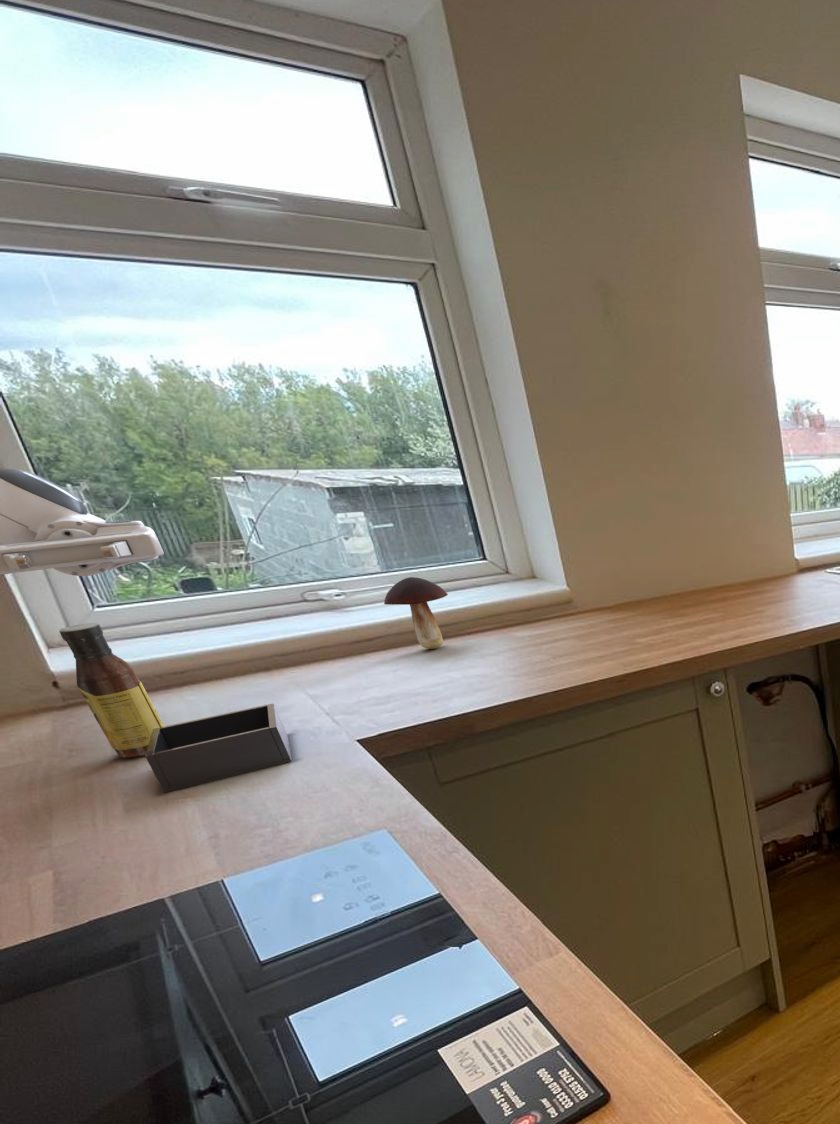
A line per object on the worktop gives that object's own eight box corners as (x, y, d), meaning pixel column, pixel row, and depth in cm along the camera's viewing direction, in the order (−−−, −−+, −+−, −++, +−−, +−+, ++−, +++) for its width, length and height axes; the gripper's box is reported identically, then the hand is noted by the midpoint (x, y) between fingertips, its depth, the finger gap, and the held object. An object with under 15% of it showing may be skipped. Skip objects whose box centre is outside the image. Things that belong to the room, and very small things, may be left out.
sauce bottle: (134, 746, 126) (69, 622, 118) (183, 740, 127) (122, 617, 119) (105, 763, 120) (35, 634, 112) (157, 756, 121) (91, 628, 113)
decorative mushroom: (475, 642, 172) (452, 572, 166) (425, 658, 163) (399, 585, 157) (439, 639, 176) (416, 570, 170) (389, 654, 167) (362, 582, 160)
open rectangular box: (164, 793, 109) (145, 756, 107) (170, 763, 119) (152, 728, 117) (291, 761, 117) (276, 726, 115) (287, 735, 127) (273, 703, 125)
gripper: (-29, 537, 124) (-52, 547, 114) (154, 519, 136) (147, 526, 126) (-7, 578, 126) (-27, 591, 117) (171, 556, 138) (166, 567, 129)
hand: (65, 557), depth 121 cm, fingers open, 8 cm apart
